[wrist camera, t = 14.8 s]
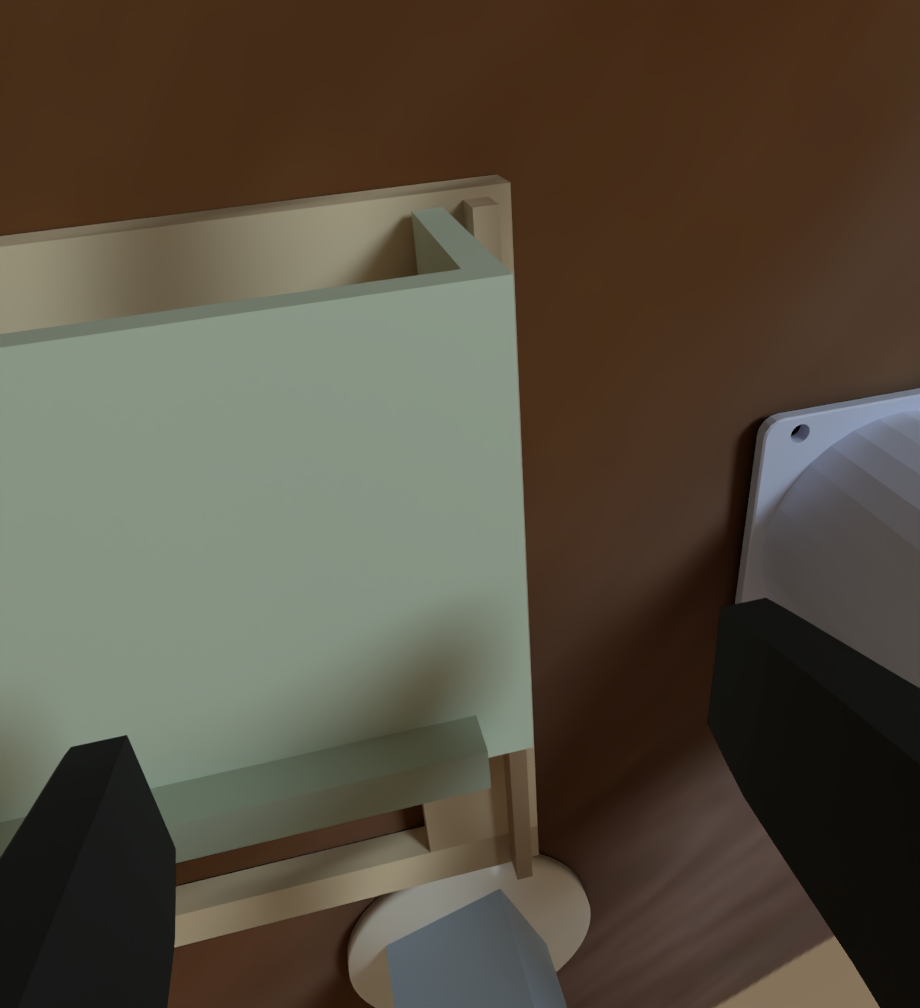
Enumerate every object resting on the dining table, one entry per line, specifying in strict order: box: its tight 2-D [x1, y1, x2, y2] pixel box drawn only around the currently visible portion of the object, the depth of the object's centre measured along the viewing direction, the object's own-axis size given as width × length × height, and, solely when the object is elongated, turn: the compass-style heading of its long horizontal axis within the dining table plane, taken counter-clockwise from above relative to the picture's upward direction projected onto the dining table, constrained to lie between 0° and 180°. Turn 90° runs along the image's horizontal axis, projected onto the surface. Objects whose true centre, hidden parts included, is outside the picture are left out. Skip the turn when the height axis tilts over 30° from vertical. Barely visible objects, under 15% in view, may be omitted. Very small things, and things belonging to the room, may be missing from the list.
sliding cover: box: [0, 207, 534, 863], centre depth 14 cm, size 12×10×6 cm
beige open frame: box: [0, 175, 539, 947], centre depth 20 cm, size 15×21×2 cm
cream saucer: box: [347, 854, 591, 1008], centre depth 29 cm, size 9×9×1 cm
